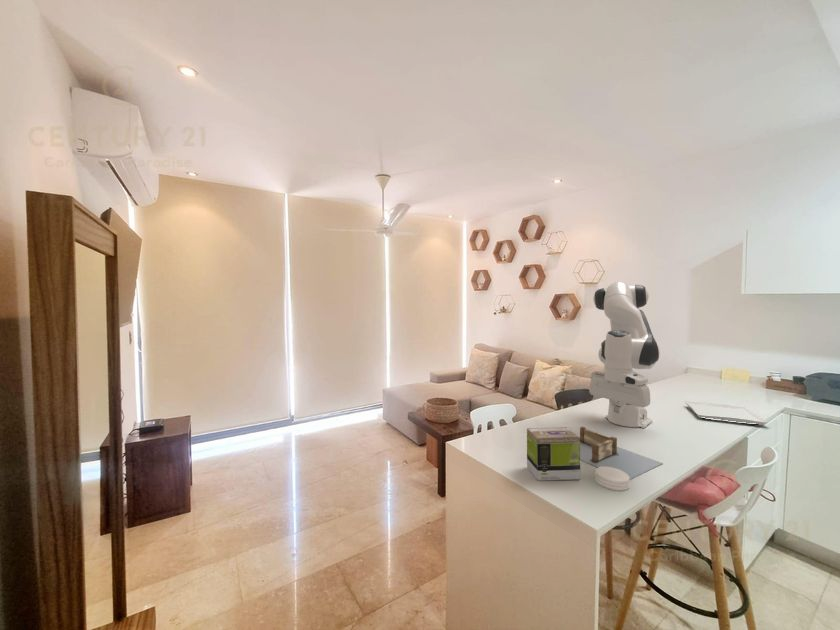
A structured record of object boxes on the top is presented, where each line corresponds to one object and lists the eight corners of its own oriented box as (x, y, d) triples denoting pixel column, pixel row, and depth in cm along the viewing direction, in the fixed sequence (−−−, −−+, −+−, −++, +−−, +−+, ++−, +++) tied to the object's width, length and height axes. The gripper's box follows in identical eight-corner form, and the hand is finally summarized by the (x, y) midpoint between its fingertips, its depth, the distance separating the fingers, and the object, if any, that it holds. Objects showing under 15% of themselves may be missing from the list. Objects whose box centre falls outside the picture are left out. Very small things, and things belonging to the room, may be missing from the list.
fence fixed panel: (582, 441, 146) (582, 426, 146) (617, 454, 133) (618, 438, 133) (578, 442, 145) (578, 427, 144) (614, 456, 132) (614, 439, 131)
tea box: (566, 466, 123) (567, 426, 123) (580, 480, 113) (581, 437, 112) (525, 467, 122) (526, 426, 122) (536, 481, 112) (537, 437, 112)
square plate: (683, 406, 199) (683, 400, 199) (744, 413, 187) (744, 406, 187) (697, 420, 174) (697, 413, 174) (768, 429, 162) (769, 421, 162)
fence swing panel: (608, 453, 133) (608, 437, 133) (614, 455, 131) (614, 439, 131) (590, 461, 126) (590, 445, 126) (596, 463, 124) (596, 447, 124)
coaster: (600, 489, 108) (601, 479, 108) (590, 474, 117) (590, 464, 117) (635, 493, 106) (635, 482, 106) (622, 477, 116) (622, 467, 116)
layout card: (591, 438, 149) (591, 437, 149) (662, 463, 125) (663, 462, 125) (556, 449, 137) (556, 448, 137) (627, 480, 113) (627, 479, 113)
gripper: (586, 371, 130) (585, 406, 130) (643, 381, 112) (642, 422, 113) (595, 369, 133) (595, 404, 133) (653, 379, 115) (652, 419, 116)
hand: (617, 412), depth 123 cm, fingers closed
